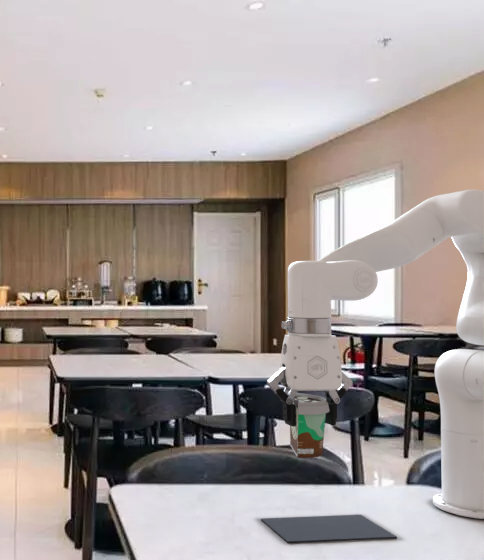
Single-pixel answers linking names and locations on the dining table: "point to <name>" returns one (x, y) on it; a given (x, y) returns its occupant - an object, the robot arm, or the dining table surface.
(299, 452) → the food container
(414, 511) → the dining table surface
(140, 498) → the dining table surface
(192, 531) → the dining table surface
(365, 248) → the robot arm
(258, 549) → the dining table surface
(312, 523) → the mat
